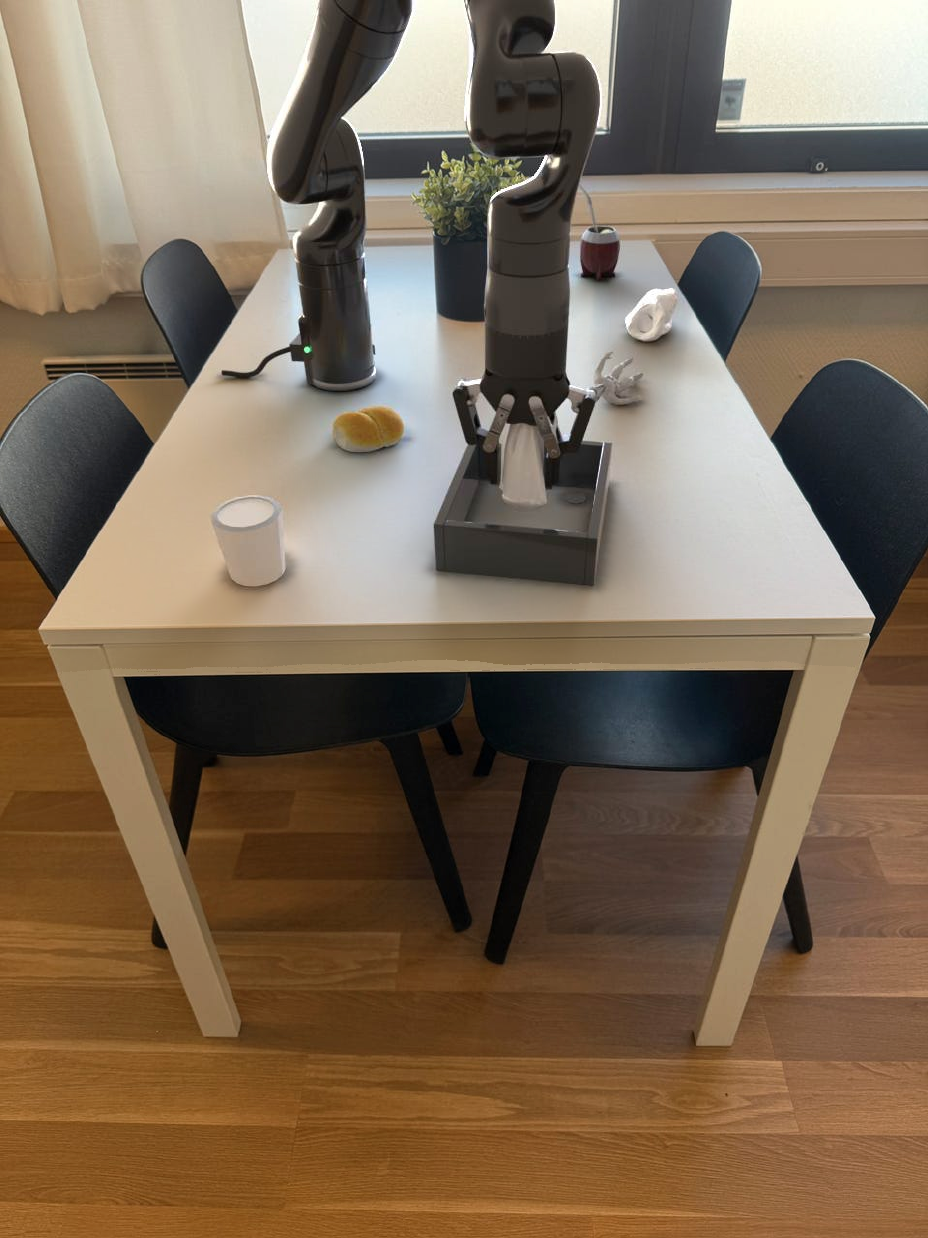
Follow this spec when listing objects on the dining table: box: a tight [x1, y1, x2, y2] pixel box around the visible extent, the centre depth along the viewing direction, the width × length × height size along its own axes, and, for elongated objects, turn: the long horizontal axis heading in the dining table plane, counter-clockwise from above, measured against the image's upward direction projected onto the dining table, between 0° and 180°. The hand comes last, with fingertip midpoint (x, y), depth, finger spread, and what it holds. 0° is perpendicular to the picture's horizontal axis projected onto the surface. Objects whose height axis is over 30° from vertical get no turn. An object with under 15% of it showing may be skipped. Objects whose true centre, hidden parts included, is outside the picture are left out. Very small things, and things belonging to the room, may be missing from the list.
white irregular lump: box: [624, 287, 679, 343], centre depth 139 cm, size 9×12×8 cm
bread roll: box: [331, 405, 405, 453], centre depth 112 cm, size 8×9×4 cm
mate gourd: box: [579, 184, 621, 282], centre depth 158 cm, size 8×8×15 cm
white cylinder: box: [210, 494, 287, 588], centre depth 89 cm, size 7×7×7 cm
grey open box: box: [433, 439, 613, 586], centre depth 95 cm, size 16×20×6 cm
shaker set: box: [498, 423, 548, 512], centre depth 91 cm, size 12×4×11 cm, turn 8°
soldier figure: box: [586, 350, 644, 406], centre depth 121 cm, size 8×5×12 cm
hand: (522, 482), depth 90 cm, fingers closed on shaker set, 5 cm apart
